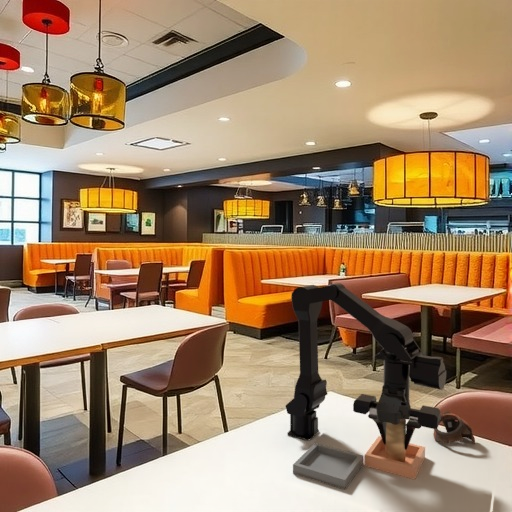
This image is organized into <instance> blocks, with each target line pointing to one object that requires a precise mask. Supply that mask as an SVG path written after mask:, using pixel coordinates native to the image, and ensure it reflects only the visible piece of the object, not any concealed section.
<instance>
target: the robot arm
mask: <svg viewBox="0 0 512 512" xmlns="http://www.w3.org/2000/svg"><path fill="white" fill-rule="evenodd" d="M327 301H332V302H333V303H335V304H336V305H337V306H338V307H340V308H341V309H342V310H343V311H344V312H346V313H347V314H348V315H350V316H351V317H352V318H354V319H355V320H356V321H357V322H359V323H360V324H361V325H362V326H364V327H365V328H367V330H368V331H369V332H370V333H371V334H372V337H373V338H374V340H375V341H376V342H377V344H378V345H379V346H380V347H381V348H382V349H381V350H380V351H379V352H378V353H377V354H375V355H374V359H375V360H380V361H383V385H382V389H381V395H380V397H379V399H378V401H377V398H376V396H374V395H371V394H364V393H361V394H360V395H359V396H358V397H357V398H356V399H355V400H353V405H352V407H353V412H354V413H355V414H356V413H357V414H362V415H367V417H368V419H371V420H372V421H373V422H374V423H375V424H376V426H377V428H378V431H379V434H380V435H379V436H381V437H382V440H383V443H384V445H386V422H388V423H391V424H394V425H397V424H399V423H400V419H401V420H403V419H406V420H407V421H406V436H405V450H407V448H408V445H409V443H410V442H411V440H412V437H413V435H414V433H415V430H416V429H421V428H422V427H423V428H427V429H432V430H434V429H438V428H439V425H440V423H441V422H442V421H441V415H442V412H441V410H440V409H439V408H437V407H434V406H427V405H421V407H420V409H417V408H412V407H411V404H410V403H411V401H410V387H411V383H410V382H412V383H413V384H414V386H415V385H416V386H420V387H425V388H431V389H435V390H440V391H442V390H443V389H444V388H445V386H446V381H447V370H446V366H445V363H444V357H441V356H429V355H423V354H424V353H423V351H422V350H421V348H420V346H419V345H418V343H417V342H416V340H415V339H414V335H413V330H412V329H411V328H410V327H409V326H407V325H405V324H404V323H401V322H400V321H398V320H396V319H393V318H390V317H387V316H384V315H383V314H381V313H380V312H378V311H377V310H376V309H375V308H373V307H371V306H370V305H369V304H367V303H366V302H365V301H363V299H361V298H360V297H359V296H357V295H355V294H354V293H353V292H352V291H350V290H349V289H348V288H346V286H345V284H342V283H339V282H336V283H332V284H331V283H330V284H328V285H326V286H321V287H318V285H314V284H310V285H303V286H298V287H296V288H295V289H294V290H293V291H292V292H291V304H292V310H293V312H294V314H295V317H296V318H297V321H298V342H299V343H298V346H299V347H298V348H299V349H298V350H299V352H298V355H299V375H298V378H297V381H296V384H295V387H294V394H293V398H292V399H291V400H290V401H289V402H288V403H286V405H285V410H286V412H287V414H288V415H290V416H289V417H290V418H289V419H290V421H289V422H290V425H289V426H290V427H289V429H290V430H289V431H288V432H287V433H286V434H287V436H291V437H294V438H297V439H302V440H305V441H311V439H313V438H314V437H315V436H316V435H317V434H318V433H319V431H320V430H319V418H318V416H317V410H316V409H319V408H320V405H321V404H322V403H323V402H324V401H325V399H326V396H327V395H328V391H327V383H328V382H327V379H323V378H321V375H320V374H319V350H318V349H319V348H318V345H319V343H318V318H319V315H320V313H321V311H322V306H323V302H327ZM440 421H441V422H440ZM410 444H411V443H410Z"/></svg>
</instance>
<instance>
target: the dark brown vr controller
mask: <svg viewBox="0 0 512 512" xmlns="http://www.w3.org/2000/svg"><path fill="white" fill-rule="evenodd" d="M441 422H442V424H443V426H444V427H445V430H446V432H445V431H441V430H440V429H438V428H437V429H433V433H432V434H433V439H434V441H435V442H440V443H446V444H449V443H455V442H461V443H463V442H464V441H463V438H465V439H468V440H470V441H471V442H472V444H473V445H475V444H476V439H475V436H474V434H473V430H472V427H471V425H470V424H469V423H468V422H467V421H466V420H465V419H463V418H462V417H460V416H459V415H458V414H455V413H451V412H450V411H448V410H447V411H444V412H443V414H441V421H440V423H441Z"/></svg>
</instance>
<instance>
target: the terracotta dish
mask: <svg viewBox="0 0 512 512" xmlns="http://www.w3.org/2000/svg"><path fill="white" fill-rule="evenodd" d="M425 458H426V446H423V445H420V444H419V445H418V444H414V443H409V445H408V448H407V450H406V453H405V463H403V462H399V461H396V460H392V459H388V458H386V445H384V443H383V440H382V437H381V435H378V436H377V438H376V439H375V441H374V442H373V443H372V444H371V446H370V447H369V448H368V450H367V451H366V453H365V454H364V466H365V467H369V468H372V469H375V470H378V471H383V472H387V473H389V474H390V473H391V474H394V475H398V476H401V477H405V478H408V479H411V480H416V477H417V476H418V473H419V471H420V469H421V468H422V465H423V462H424V461H425Z"/></svg>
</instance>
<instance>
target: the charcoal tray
mask: <svg viewBox="0 0 512 512" xmlns="http://www.w3.org/2000/svg"><path fill="white" fill-rule="evenodd" d="M363 465H364V455H363V454H360V453H355V452H352V451H350V450H349V451H348V450H344V449H341V448H337V447H333V446H328V445H326V444H325V445H324V444H322V443H317V442H314V443H313V444H312V445H311V446H310V447H309V448H308V449H307V450H306V451H305V452H304V453H303V454H302V455H301V456H300V457H299V458H298V459H297V460H296V461H295V462H294V463H293V464H292V474H293V475H297V476H300V477H304V478H305V479H309V480H313V481H316V482H319V483H322V484H325V485H329V486H331V487H336V488H338V489H341V490H346V489H347V488H348V486H349V485H350V484H351V482H353V481H352V480H353V479H354V478H355V476H356V475H357V474H358V473H359V471H360V470H361V468H362V467H363Z"/></svg>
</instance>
